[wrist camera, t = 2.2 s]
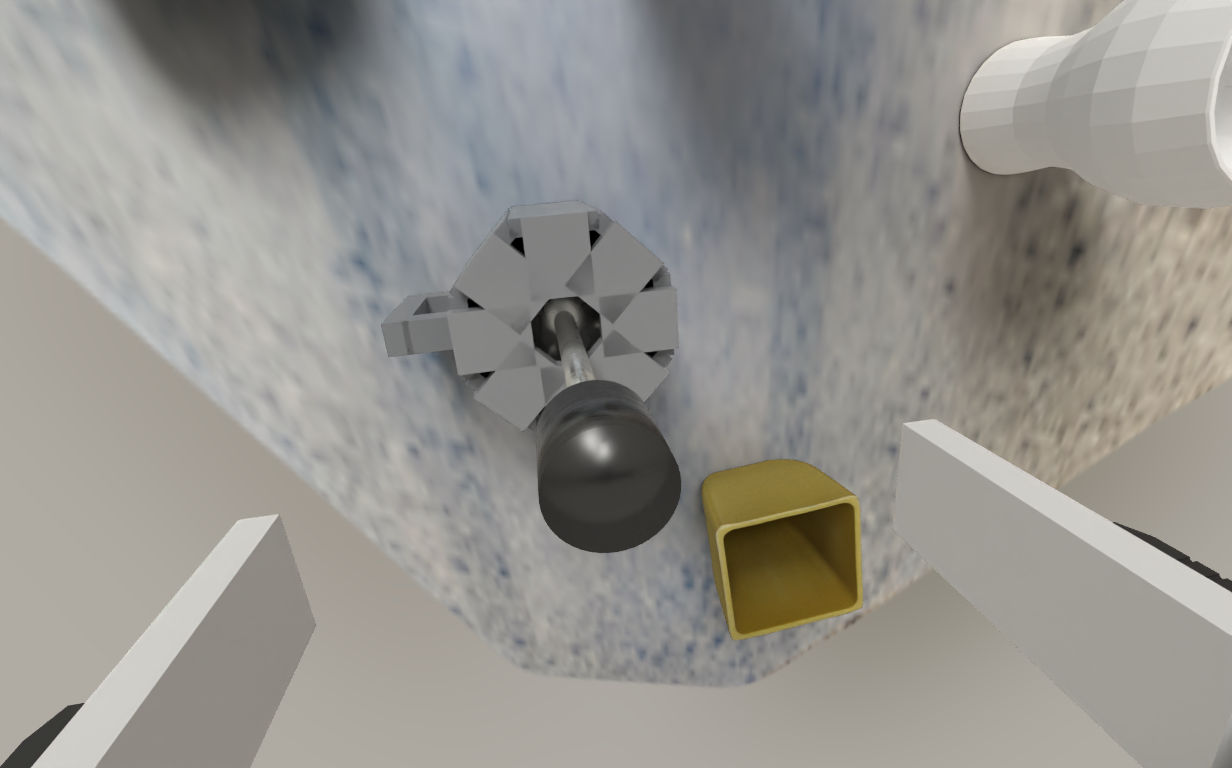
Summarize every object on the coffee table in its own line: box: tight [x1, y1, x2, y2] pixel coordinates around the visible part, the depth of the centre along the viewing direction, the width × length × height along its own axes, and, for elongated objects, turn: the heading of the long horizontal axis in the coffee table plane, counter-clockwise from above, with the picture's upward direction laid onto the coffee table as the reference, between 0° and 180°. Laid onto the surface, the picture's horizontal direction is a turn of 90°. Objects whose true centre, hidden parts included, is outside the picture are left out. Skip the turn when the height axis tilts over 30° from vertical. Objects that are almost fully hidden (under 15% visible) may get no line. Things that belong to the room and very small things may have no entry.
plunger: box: [531, 296, 681, 553], centre depth 21 cm, size 6×6×17 cm
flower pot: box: [702, 459, 863, 640], centre depth 39 cm, size 9×9×9 cm
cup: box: [960, 0, 1232, 209], centre depth 29 cm, size 11×11×15 cm
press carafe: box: [381, 200, 679, 432], centre depth 31 cm, size 10×14×11 cm
